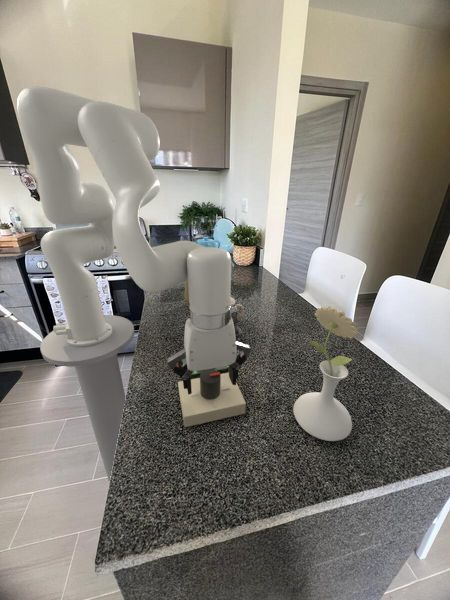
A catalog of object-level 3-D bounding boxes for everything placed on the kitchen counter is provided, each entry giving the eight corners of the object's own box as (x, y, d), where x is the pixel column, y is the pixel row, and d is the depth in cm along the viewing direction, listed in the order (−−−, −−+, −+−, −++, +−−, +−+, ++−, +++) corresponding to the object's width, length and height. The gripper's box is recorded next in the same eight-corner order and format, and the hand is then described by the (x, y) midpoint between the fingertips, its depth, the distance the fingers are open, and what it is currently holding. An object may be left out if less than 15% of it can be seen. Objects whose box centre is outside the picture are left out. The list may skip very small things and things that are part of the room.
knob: (202, 401, 52) (202, 384, 50) (198, 386, 56) (198, 369, 54) (222, 397, 54) (223, 380, 52) (217, 382, 57) (217, 366, 55)
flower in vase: (363, 436, 49) (404, 327, 39) (315, 454, 46) (345, 340, 35) (319, 389, 60) (342, 294, 50) (278, 401, 57) (293, 302, 46)
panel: (184, 427, 50) (183, 416, 49) (178, 391, 59) (177, 381, 58) (245, 413, 54) (246, 402, 52) (231, 381, 62) (231, 371, 61)
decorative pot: (209, 263, 153) (209, 241, 147) (188, 259, 160) (187, 237, 155) (223, 257, 166) (223, 236, 160) (203, 253, 173) (203, 233, 167)
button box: (185, 382, 62) (184, 369, 60) (181, 362, 69) (180, 350, 67) (228, 374, 64) (228, 362, 63) (220, 355, 71) (220, 344, 70)
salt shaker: (227, 333, 82) (228, 300, 77) (244, 338, 80) (246, 304, 74) (219, 342, 77) (219, 307, 72) (236, 347, 75) (238, 312, 70)
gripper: (246, 301, 52) (243, 367, 59) (161, 311, 48) (168, 380, 55) (260, 318, 46) (255, 389, 53) (164, 332, 41) (172, 407, 48)
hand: (211, 385), depth 54 cm, fingers open, 9 cm apart
